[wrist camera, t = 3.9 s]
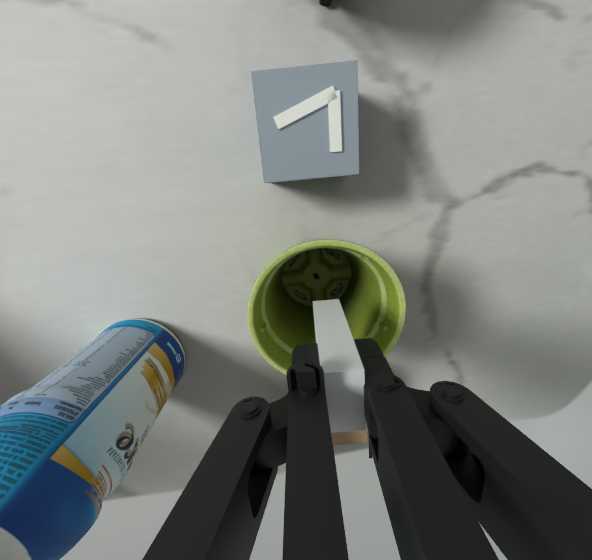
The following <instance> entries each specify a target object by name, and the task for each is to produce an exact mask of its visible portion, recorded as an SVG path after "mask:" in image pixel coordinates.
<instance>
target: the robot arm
mask: <svg viewBox="0 0 592 560" xmlns="http://www.w3.org/2000/svg"><path fill="white" fill-rule="evenodd" d="M313 312H314V324H315V336H316V343H312V344H300V345H296V346H295V348H294V349H293V351H292V366H291V367H290V368H289V369H288V370H287V373H286V374H287V382H288V390H289V392H288V394H287V395H286V396H285V397H283V398H282V399H280V400H278V401H275V402H272V403H269V404H268V402H267V401H266V400H265V399H263V398H260V397H249V398H246V399H243V400H241V401H240V402H238V403H237V404H236V405H235V406H234V407H233V409H232V410H231V412H230V414H229V415H228V417H227V419H226V420H225V422H224V424H223V425H222V427H221V429H220V430H219V432H218V434H217V435H216V437H215V439H214V440H213V442H212V444H211V445H210V447H209V449H208V450H207V452H206V454H205V456H204V457H203V459H202V461H201V462H200V464H199V466H198V467H197V469H196V471H195V472H194V474H193V476H192V477H191V479H190V481H189V482H188V484H187V486H186V487H185V489H184V491H183V492H182V494H181V496H180V497H179V499H178V501H177V502H176V504H175V506H174V507H173V509H172V511H171V512H170V514H169V516H168V518H167V519H166V521H165V523H164V524H163V526H162V528H161V530H160V531H159V533H158V534H157V536H156V538H155V539H154V541H153V543H152V544H151V546H150V548H149V550H148V551H147V553H146V555H145V556H144V558H143V559H142V560H249V558H250V555H251V552H252V549H253V546H254V543H255V540H256V536H257V533H258V530H259V527H260V524H261V521H262V518H263V514H264V511H265V508H266V505H267V502H268V499H269V495H270V492H271V489H272V486H273V483H274V480H275V477H276V474H277V470H278V466H279V465H282V464H284V463H286V483H285V509H284V510H285V511H284V537H283V560H349V559H348V552H347V544H346V537H345V530H344V524H343V516H342V508H341V501H340V494H339V487H338V480H337V472H336V465H335V458H334V451H333V443H332V436H331V433H335V432H349V431H363V430H366V424H367V427H368V430H369V458H372V455H373V459H374V463H375V466H376V470H377V474H378V477H379V481H380V485H381V488H382V492H383V496H384V499H385V503H386V507H387V510H388V514H389V517H390V521H391V525H392V528H393V532H394V536H395V540H396V543H397V547H398V550H399V554H400V558H401V560H499V559H498V558H497V556H496V554H495V552H494V550H493V548H492V546H491V545H490V543H489V541H488V539H487V537H486V535H485V533H484V531H483V529H482V528H481V526H480V524H481V525H482V527H483V528H484V529H485V530H486V532H487V533H488V534H489V536H490V537H491V538H492V540H493V541H494V542H495V543H496V545H497V546H498V547H499V549H500V550H501V551H502V553H503V554H504V555H505V557H506V558H507V559H508V560H592V489H591V488H590V487H588V486H587V485H586V484H584V483H583V482H582V481H581V480H580V479H579V478H577V477H576V476H575V475H574V474H572V473H571V472H570V471H569V470H567V469H566V468H565V467H564V466H562V465H561V464H560V463H559V462H558V461H556V460H555V459H554V458H553V457H551V456H550V455H549V454H548V453H547V452H545V451H544V450H543V449H541V448H540V447H539V446H538V445H537V444H535V443H534V442H533V441H532V440H531V439H529V438H528V437H527V436H526V435H524V434H523V433H522V432H521V431H519V430H518V429H517V428H516V427H515V426H513V425H512V424H511V423H510V422H508V421H507V420H506V419H505V418H503V417H502V416H501V415H500V414H499V413H497V412H496V411H495V410H494V409H492V408H491V407H490V406H489V405H487V404H486V403H485V402H484V401H483V400H481V399H480V398H479V397H478V396H476V395H475V394H474V393H473V392H471V391H470V390H469V389H467V388H466V387H464V386H463V385H460V384H457V383H455V382H449V381H441V382H437V383H435V384H433V385H432V386H431V388H430V391H424V390H417V389H413V388H409V387H407V386H406V385H405V383H404V382H403V381H402V380H401V379H400V378H398V377H397V376H395V375H394V374H393V372H392V370H391V368H390V366H389V364H388V362H387V360H386V358H385V357H384V354H383V352H382V351H381V348H380V346H379V344H378V343H377V342H376V341H374V340H373V339H371V338H363V339H353V337H352V334H351V331H350V329H349V326H348V323H347V320H346V317H345V315H344V312H343V309H342V306H341V304H340V301H339V299H333V300H322V301H313ZM478 521H479V522H478ZM479 523H480V524H479Z"/></svg>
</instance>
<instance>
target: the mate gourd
mask: <svg viewBox="0 0 592 560" xmlns="http://www.w3.org/2000/svg"><path fill="white" fill-rule="evenodd" d="M319 3H320V4H321V5H323V6H329V5H331V0H320V1H319Z"/></svg>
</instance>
